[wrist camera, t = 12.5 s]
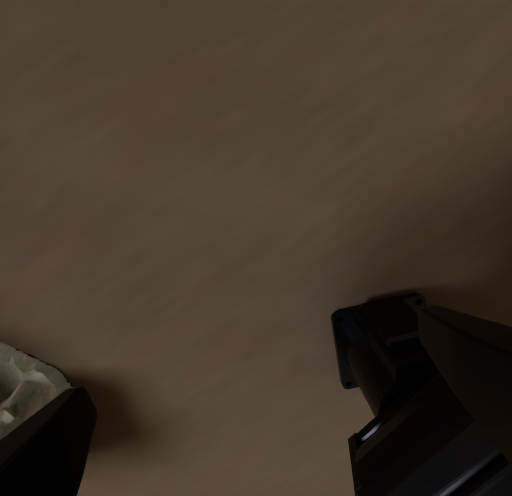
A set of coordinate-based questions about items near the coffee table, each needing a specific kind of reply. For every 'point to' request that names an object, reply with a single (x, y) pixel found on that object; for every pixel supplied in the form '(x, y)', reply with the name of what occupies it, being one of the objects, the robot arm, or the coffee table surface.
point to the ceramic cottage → (25, 387)
